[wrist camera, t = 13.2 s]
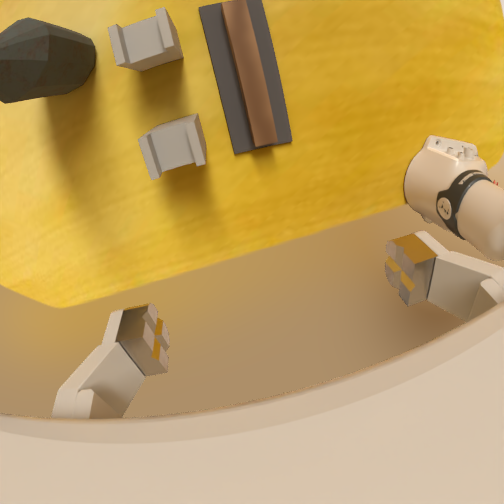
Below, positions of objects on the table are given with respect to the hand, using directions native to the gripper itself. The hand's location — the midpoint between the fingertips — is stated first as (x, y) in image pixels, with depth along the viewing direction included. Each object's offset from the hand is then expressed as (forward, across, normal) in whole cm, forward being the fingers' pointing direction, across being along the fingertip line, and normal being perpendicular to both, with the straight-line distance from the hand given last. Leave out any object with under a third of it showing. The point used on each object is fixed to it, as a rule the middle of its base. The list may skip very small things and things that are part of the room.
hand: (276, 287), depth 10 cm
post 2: (+37, -6, +1) cm, 38 cm away
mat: (+37, +6, +8) cm, 38 cm away
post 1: (+37, -6, +15) cm, 40 cm away
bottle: (+37, -20, +19) cm, 46 cm away
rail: (+36, +6, +8) cm, 38 cm away
